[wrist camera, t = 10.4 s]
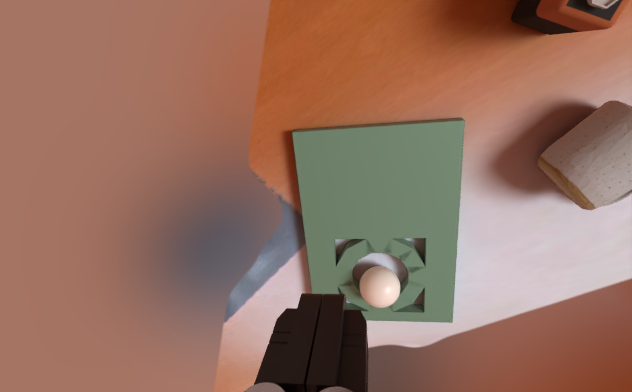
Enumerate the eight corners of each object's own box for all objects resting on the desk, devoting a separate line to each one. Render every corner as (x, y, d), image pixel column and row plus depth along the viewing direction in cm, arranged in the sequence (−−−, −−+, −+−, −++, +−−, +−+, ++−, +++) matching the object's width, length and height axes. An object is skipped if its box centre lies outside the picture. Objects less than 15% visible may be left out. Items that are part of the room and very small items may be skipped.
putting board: (294, 129, 39) (292, 132, 38) (461, 117, 36) (464, 120, 35) (316, 311, 49) (315, 318, 48) (449, 314, 46) (452, 322, 44)
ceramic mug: (520, 153, 37) (556, 177, 30) (593, 93, 34) (652, 105, 27) (582, 215, 38) (630, 252, 31) (656, 164, 35) (728, 193, 28)
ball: (360, 310, 44) (360, 271, 47) (400, 311, 43) (398, 272, 46) (358, 303, 40) (358, 261, 42) (402, 304, 39) (399, 261, 41)
